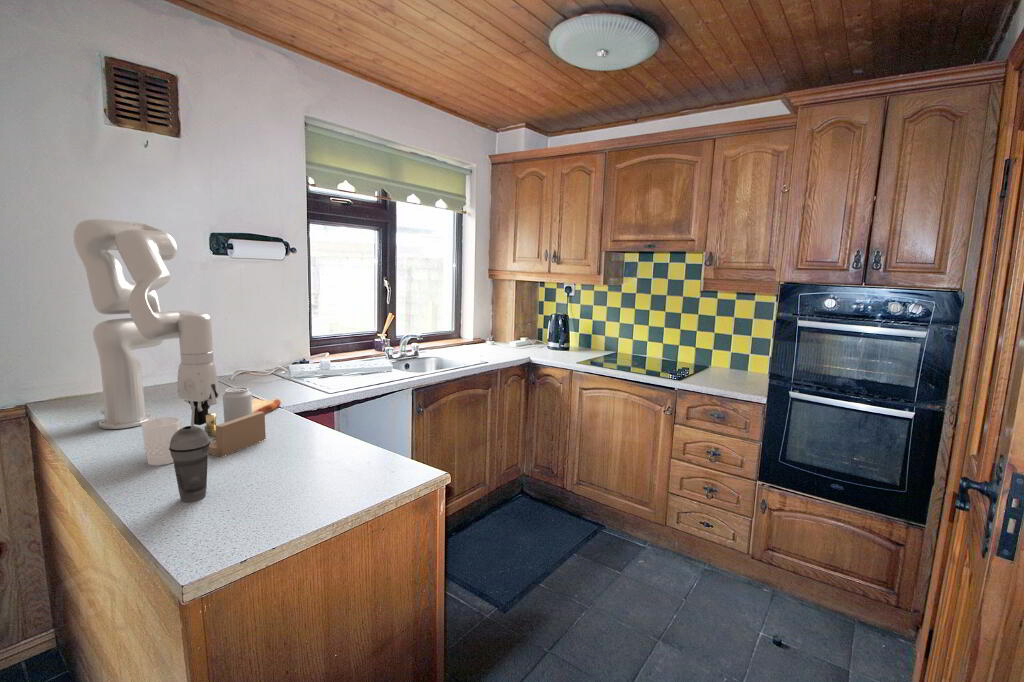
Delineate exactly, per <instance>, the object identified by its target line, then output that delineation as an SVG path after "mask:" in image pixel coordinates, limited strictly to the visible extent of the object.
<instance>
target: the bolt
mask: <svg viewBox="0 0 1024 682" xmlns="http://www.w3.org/2000/svg"><path fill="white" fill-rule="evenodd" d="M216 416H217V415H216V412H208V414H205V417H206V423H205V424H206V429H205V431H206V433H207V435H212V436H216V427H215V426H216V425H217V417H216Z"/></svg>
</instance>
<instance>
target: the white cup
mask: <svg viewBox="0 0 1024 682" xmlns="http://www.w3.org/2000/svg"><path fill="white" fill-rule="evenodd" d="M181 424H182V423H181V419H180V418H179V417H173V416H170V417H168V416H167V417H158V418H152V420H148V421H146V422H144V423H142V424H141V425H140V426H141V431H142V438H143V445H144V446H143V447H144V450H145V451H144V452H145V454H146V460H147V464H148V465H150V466H165V465H170V464H174V462H173V458H172V456H171V453H170V450H169V447H170V442H171V438H172V436H173V435H174V434H175V433H176V432H177V431H178V430H179V429H181V426H182V425H181Z"/></svg>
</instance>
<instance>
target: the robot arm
mask: <svg viewBox="0 0 1024 682" xmlns="http://www.w3.org/2000/svg"><path fill="white" fill-rule="evenodd" d="M73 244H74V247H75V251H76V252H77V255H78V256H79V258H80V261H81V262H82V264H83V266H84V268H85V269H84V270H85V273H86V277H87V283H88V286H89V287H88V288H89V291H90V295H91V296H90V297H91V301H92V303H93V307H94V309H95V310H96V311H97V312H98V313H99V314H101V315H111V316H112V315H130V317H124V318H114V319H107V320H103V321H101V322H99V323H98V324H96V325H95V326H94V329H93V330H92V338H93V341H94V344H95V347H96V350H97V353H98V358H99V359H98V360H99V364H100V374H101V383H102V384H101V385H102V394H103V395H102V396H103V403H104V404H103V405H104V408H103V409H101V410H100V411H99V413H100V414H101V415H104V417H103V419H102V420H100V421H99V422H98V427H99V428H102V429H106V430H120V429H122V430H123V429H129V428H134V427H138V426H142V425H141V424H142V423H144V422H146V421H148V420H152V419H153V415H151V414H150V413H146V406H145V396H144V395H145V392H144V384H143V383H144V382H143V380H144V379H143V371H142V370H143V369H142V363H141V361H140V359H138V357H137V356H136V355H134V353H133V352H132V351H135V350H141V349H148V348H154V347H158V346H160V345H161V344H162V343H163V342H164V341H165V340H172V339H178V341H179V353H180V363H179V365H178V371H177V395H178V398H179V399H180V400H183V401H184V402H185V403H188V404H189V406H190V409H191V410H192V406H195V413H194V424H195V425H202V424H206V417H205V414H208V413H209V410H210V408H211V406H213V405H216V404H218V401H217V398H219V394H220V393H219V391H220V389H219V381H218V380H219V379H218V375H217V369H216V366H215V363H214V362H215V361H214V347H213V334H212V333H213V331H212V318H211V316H210V315H209V314H208V313H203V312H193V311H190V310H174V311H173V310H170V311H169V310H168V311H167V310H166V311H162V309H161V306H160V305H161V304H160V300H159V296H158V294H157V291H156V290H159V289H160V288H162V287H164V286H165V285H167V284H168V283H169V282H170V280H171V274H170V272H169V270H168V268H167V266H166V265H165V262H164V261H171V260H173V259H174V258H176V256H177V253H178V246H177V242H176V240H175V239H174V238H173V237H172V236H171V234H169V233H168V232H167V231H164V230H161V229H159V228H157V227H154V226H151V225H149V224H146V223H140V222H135V221H133V222H132V221H123V220H113V219H112V220H111V219H99V218H98V219H97V218H96V219H95V218H93V219H92V218H91V219H86V220H85V219H84V220H82V221H80V222H79V223H77V224H76V226H75V227H74V230H73ZM109 251H118V253H119V254H120V257H121V259H122V261H123V263H124V265H125V266H126V269H127V270H128V273H129V274H130V277H131V279H132V281H127V280H126V278H125V274H124V273H125V272H124V268H123V265H122V264H121V262H120V261H119V260H118V259H117V258H116V257H115V255H113V254H112V253H110V252H109Z"/></svg>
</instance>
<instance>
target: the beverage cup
mask: <svg viewBox="0 0 1024 682" xmlns="http://www.w3.org/2000/svg"><path fill="white" fill-rule="evenodd" d="M194 413H195V406H192V409H191V418H190V419H191V420H190V423H191V426H186V427H183V428H181V429H179V430H178V431H177V432H176V433H175V434H174V435H173V436H172V438H171V442H170V447H169V450H170V453H171V456H172V458H173V466H174V471H175V472H174V473H175V476H176V477H175V478H176V483H177V489H178V494H179V497H180V501H181V502H183V503H194V502H197V501H200V500H202V499H204V498H205V497H207V496H206V494H207V483H208V463H209V462H208V456H209V454H208V453H209V445H210V441H209V437H208V435H207V433H206V432H205V431H204V430H203V429H201V428H200V427H197V426H194Z"/></svg>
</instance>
